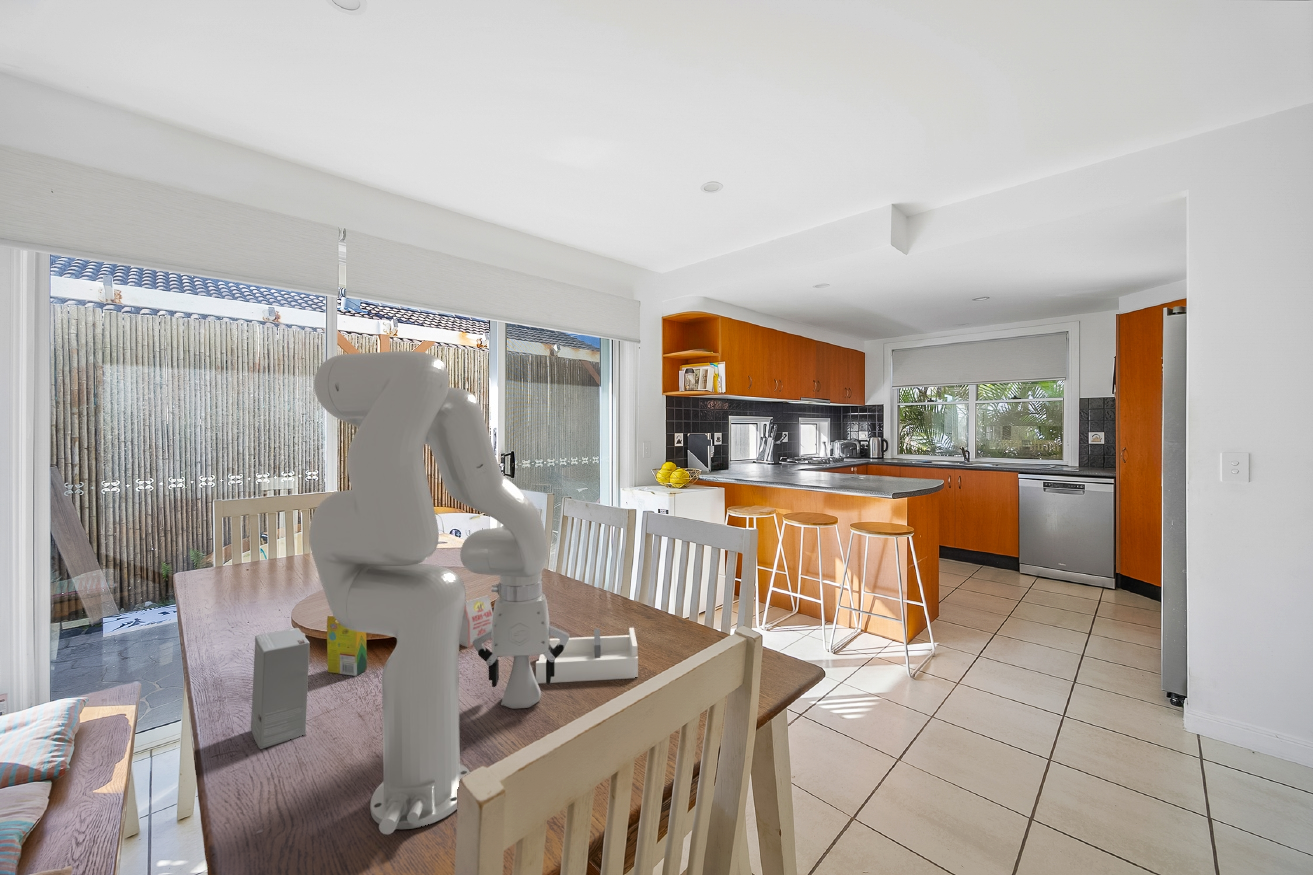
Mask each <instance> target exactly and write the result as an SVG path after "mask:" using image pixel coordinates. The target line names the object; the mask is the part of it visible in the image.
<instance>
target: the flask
mask: <svg viewBox="0 0 1313 875" xmlns="http://www.w3.org/2000/svg"><path fill="white" fill-rule="evenodd" d="M541 697H542V691H541V688H540V686H539V683H537V681H536V675H535V674H534V671H533V668H532V665H531V661H530V656H514V657H513V662H512V667H511V671H510V676H509V679H508V681H507V684H506V687H505V691H504V694H503V697H502V699H501V703H500V706H503V707H505V708H506V707H507V708H510V709H511V710H512V709H526V708H527V709H528V708H530V707H532V706H534V705H535V704H538V703H539V702H540V701H541Z"/></svg>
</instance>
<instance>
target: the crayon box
mask: <svg viewBox="0 0 1313 875" xmlns="http://www.w3.org/2000/svg"><path fill="white" fill-rule="evenodd" d="M326 645H327V648H326V649H327V652H326V653H327V655H326V656H327V673H331V674H332V673H333V674H340V675H346V676H347V675H348V676H353V677H358V676H359V675H361V674H362V673H364V672H366V671H367V669H368V663H367V655H368V654H367V633H366V632H359V631H353V630H350V629H347V628H345V627H343V626H342V625H341V624H340V623H339V622H338V621H337V620H336V619H335V617H334V616H333V615H332V616H331V615H327V619H326Z"/></svg>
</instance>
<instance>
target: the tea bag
mask: <svg viewBox="0 0 1313 875" xmlns="http://www.w3.org/2000/svg"><path fill="white" fill-rule="evenodd" d="M493 611H494V610H493V607H492V603H491V599H490V595H488V594H487V595H484V596H483V595H482V596H480V597H477V598H474V599H469V600H466V602H465V609H464V614H463V619H462V625H461V631H460V640H459V645H461V646H463V647H465V648H467V649H468V648H471V646H472V647H474V645H473V640H474V638H476V637H478V636H480V635H481V634H483V633H485V632H487V631H489V630H490V629H492V621H493ZM490 640H492V638H491V639H490ZM487 641H489V640H487ZM487 641H486V642H487Z"/></svg>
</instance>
